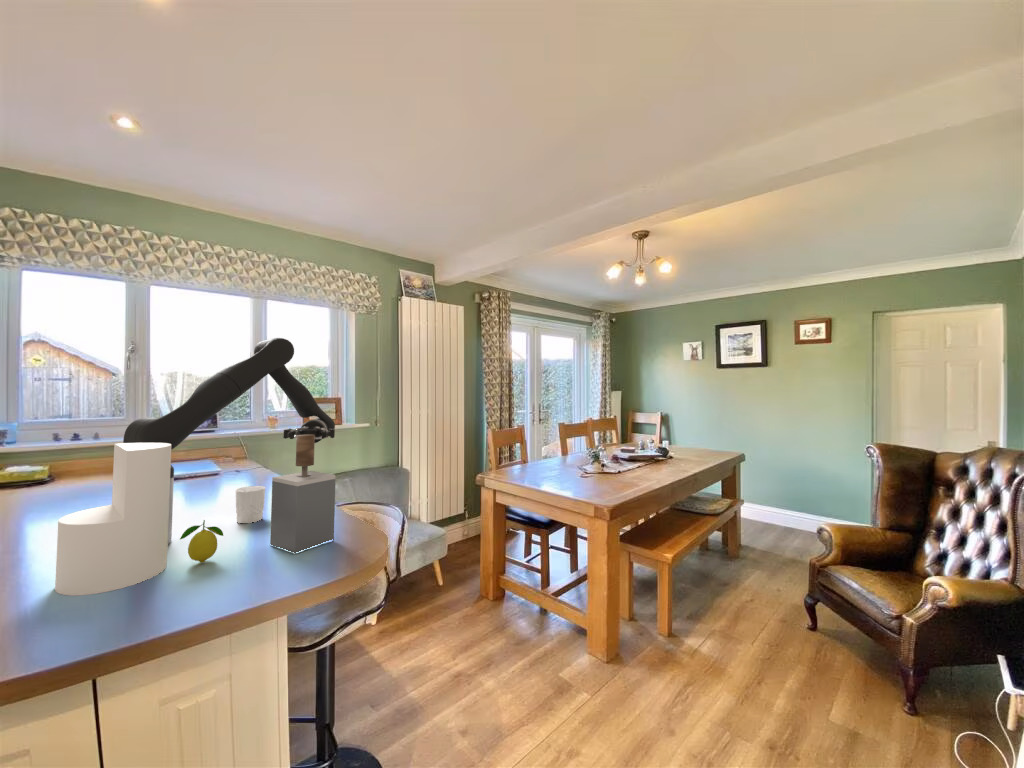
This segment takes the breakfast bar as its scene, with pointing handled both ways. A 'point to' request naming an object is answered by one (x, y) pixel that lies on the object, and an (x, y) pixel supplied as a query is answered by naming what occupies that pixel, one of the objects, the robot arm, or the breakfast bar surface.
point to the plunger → (305, 452)
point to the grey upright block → (302, 510)
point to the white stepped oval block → (119, 526)
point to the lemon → (202, 542)
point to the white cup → (250, 504)
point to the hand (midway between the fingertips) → (307, 435)
